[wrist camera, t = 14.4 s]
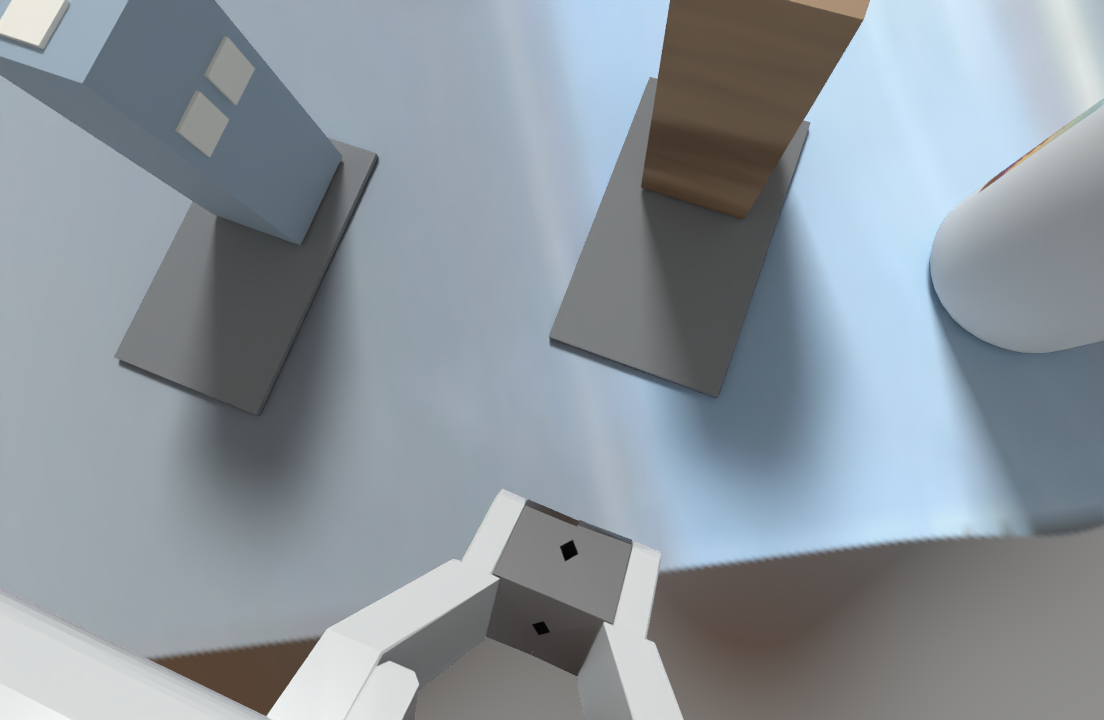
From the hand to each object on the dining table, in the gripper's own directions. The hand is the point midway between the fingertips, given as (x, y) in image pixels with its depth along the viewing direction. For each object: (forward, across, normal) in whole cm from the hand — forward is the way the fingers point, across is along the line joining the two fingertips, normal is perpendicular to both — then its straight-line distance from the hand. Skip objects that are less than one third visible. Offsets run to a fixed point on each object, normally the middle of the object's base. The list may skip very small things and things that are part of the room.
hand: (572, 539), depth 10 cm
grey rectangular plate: (+20, 0, +1) cm, 20 cm away
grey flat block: (+14, +20, +7) cm, 25 cm away
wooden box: (+22, 0, -1) cm, 23 cm away
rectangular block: (+17, +20, +4) cm, 26 cm away
